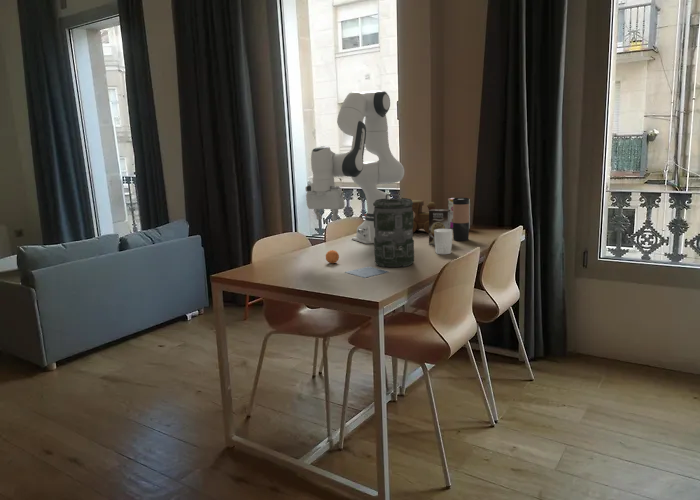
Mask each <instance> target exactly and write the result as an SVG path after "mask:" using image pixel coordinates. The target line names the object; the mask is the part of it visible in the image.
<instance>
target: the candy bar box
mask: <svg viewBox="0 0 700 500" xmlns="http://www.w3.org/2000/svg"><path fill="white" fill-rule="evenodd" d="M454 198H455V197H451V198H447V210H450V229H452V230H453V199H454ZM470 228H471V199H470V198H469V230H470Z"/></svg>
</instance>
